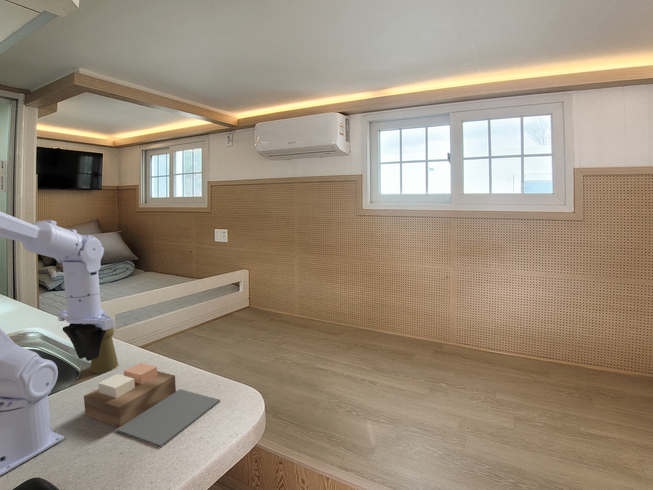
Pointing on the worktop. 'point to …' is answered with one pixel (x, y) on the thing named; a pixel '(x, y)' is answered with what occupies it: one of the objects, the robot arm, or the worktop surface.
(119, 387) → the cream tile
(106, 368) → the olive tall rounded piece
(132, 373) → the terracotta tile
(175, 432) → the rubber mat
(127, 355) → the worktop surface
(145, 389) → the walnut board
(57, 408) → the worktop surface
